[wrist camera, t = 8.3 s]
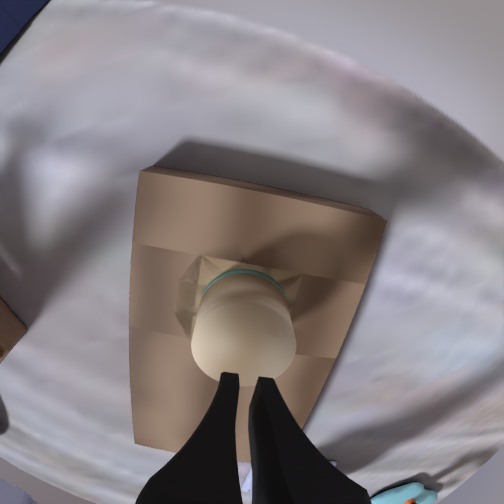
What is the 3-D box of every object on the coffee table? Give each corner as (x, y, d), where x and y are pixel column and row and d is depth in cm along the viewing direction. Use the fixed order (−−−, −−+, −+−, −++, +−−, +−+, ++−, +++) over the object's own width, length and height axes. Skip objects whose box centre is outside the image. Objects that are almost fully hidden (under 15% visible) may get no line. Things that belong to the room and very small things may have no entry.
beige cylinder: (290, 260, 21) (309, 314, 15) (272, 326, 23) (281, 391, 17) (210, 246, 20) (197, 295, 14) (199, 314, 22) (186, 378, 16)
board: (371, 210, 20) (387, 221, 17) (280, 444, 28) (282, 464, 26) (152, 165, 18) (139, 170, 16) (140, 424, 27) (134, 443, 24)
